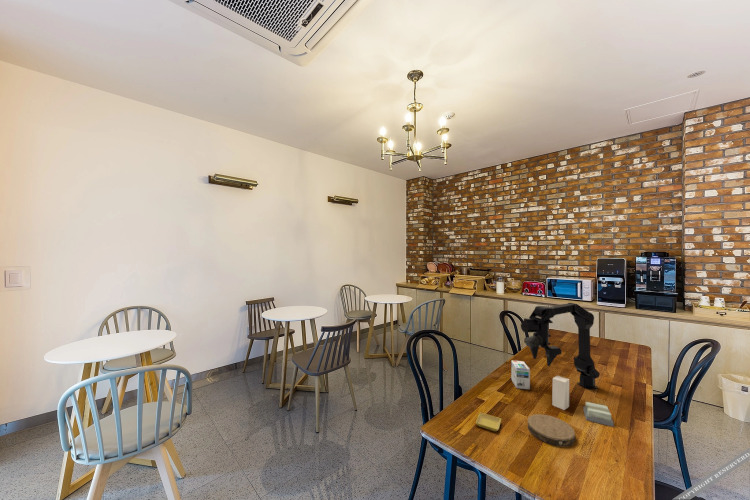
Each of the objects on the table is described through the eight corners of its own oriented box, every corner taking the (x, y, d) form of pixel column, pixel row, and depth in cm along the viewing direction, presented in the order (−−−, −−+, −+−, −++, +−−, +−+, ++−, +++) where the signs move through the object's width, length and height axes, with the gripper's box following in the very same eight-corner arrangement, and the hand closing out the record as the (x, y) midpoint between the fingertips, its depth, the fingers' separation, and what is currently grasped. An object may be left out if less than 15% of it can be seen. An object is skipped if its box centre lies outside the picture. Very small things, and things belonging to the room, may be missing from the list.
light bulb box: (530, 389, 148) (530, 368, 148) (516, 388, 149) (516, 367, 149) (523, 380, 158) (524, 361, 158) (510, 379, 159) (510, 359, 159)
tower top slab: (585, 407, 129) (585, 401, 129) (606, 411, 125) (606, 406, 125) (588, 415, 122) (588, 409, 122) (611, 420, 118) (611, 414, 118)
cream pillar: (556, 401, 136) (557, 375, 136) (568, 406, 132) (569, 379, 132) (552, 405, 133) (552, 378, 133) (564, 410, 129) (564, 382, 129)
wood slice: (520, 420, 121) (520, 413, 121) (558, 421, 121) (558, 414, 121) (540, 446, 106) (540, 438, 105) (585, 448, 105) (585, 439, 105)
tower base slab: (583, 411, 130) (583, 406, 130) (608, 417, 125) (609, 411, 125) (586, 421, 122) (586, 416, 122) (613, 428, 117) (613, 422, 117)
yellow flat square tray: (498, 434, 112) (498, 429, 112) (475, 427, 117) (475, 422, 117) (501, 423, 119) (501, 418, 119) (480, 417, 124) (480, 412, 124)
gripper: (515, 327, 154) (515, 356, 154) (542, 337, 136) (541, 371, 136) (533, 326, 156) (533, 355, 156) (562, 336, 138) (561, 369, 138)
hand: (541, 362), depth 147 cm, fingers open, 9 cm apart
